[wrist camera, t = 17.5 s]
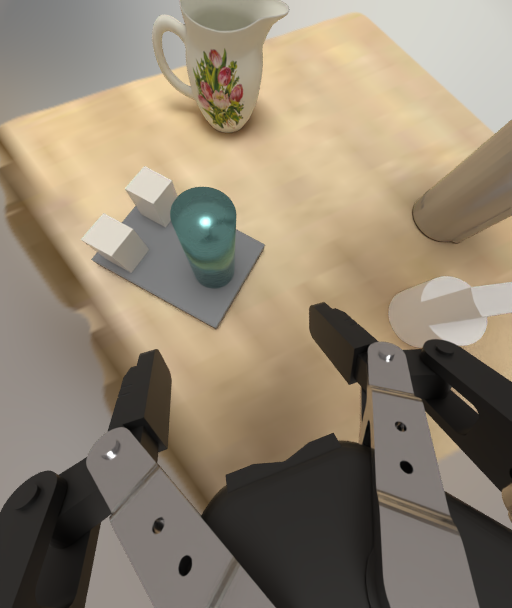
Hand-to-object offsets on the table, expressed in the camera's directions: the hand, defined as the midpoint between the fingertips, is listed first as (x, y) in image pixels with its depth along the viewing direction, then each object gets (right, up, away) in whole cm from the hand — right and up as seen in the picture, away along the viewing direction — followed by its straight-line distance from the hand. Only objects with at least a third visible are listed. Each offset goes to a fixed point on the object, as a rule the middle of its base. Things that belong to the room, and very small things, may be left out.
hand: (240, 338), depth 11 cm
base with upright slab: (+25, 0, +22) cm, 34 cm away
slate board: (-10, +9, +21) cm, 25 cm away
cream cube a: (-17, +9, +18) cm, 26 cm away
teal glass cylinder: (-5, +7, +19) cm, 21 cm away
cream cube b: (-13, +15, +20) cm, 29 cm away
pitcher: (-5, +35, +28) cm, 45 cm away
